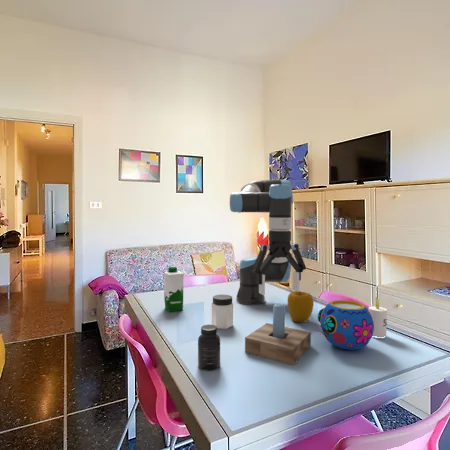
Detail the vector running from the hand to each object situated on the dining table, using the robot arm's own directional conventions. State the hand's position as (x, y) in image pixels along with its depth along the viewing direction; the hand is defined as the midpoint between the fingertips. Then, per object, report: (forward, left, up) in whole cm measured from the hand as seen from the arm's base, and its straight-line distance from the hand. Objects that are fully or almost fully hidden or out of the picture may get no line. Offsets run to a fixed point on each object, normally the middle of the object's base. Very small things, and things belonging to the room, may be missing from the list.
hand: (279, 292), depth 110 cm
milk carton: (-15, -61, -20) cm, 66 cm away
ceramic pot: (-15, +19, -20) cm, 31 cm away
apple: (-33, -4, -20) cm, 39 cm away
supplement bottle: (+23, -13, -20) cm, 33 cm away
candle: (-32, +27, -20) cm, 46 cm away
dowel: (0, 0, -20) cm, 20 cm away
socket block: (0, 0, -20) cm, 20 cm away
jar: (-9, -29, -20) cm, 36 cm away
